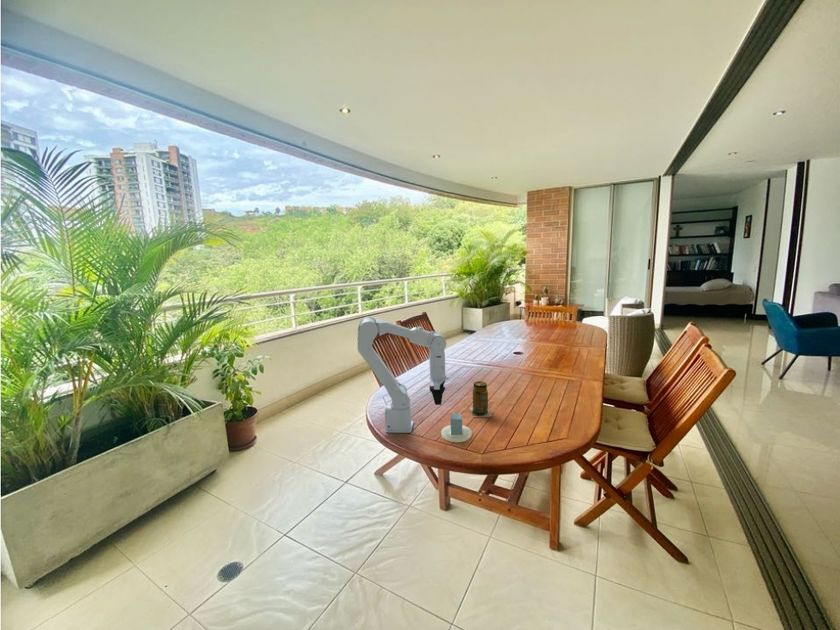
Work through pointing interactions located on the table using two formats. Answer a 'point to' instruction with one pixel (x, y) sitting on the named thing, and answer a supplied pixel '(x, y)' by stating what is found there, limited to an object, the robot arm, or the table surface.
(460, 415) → the block
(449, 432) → the dish
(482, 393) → the condiment
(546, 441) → the table surface
